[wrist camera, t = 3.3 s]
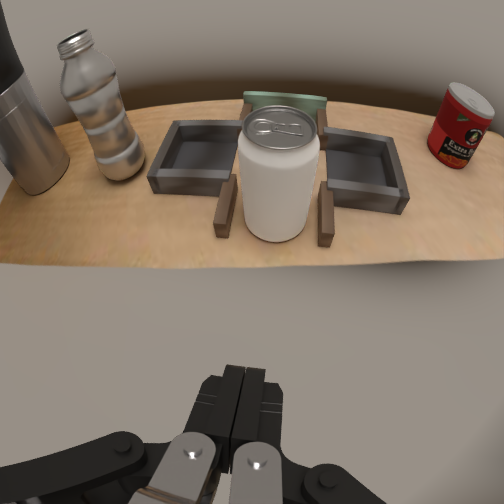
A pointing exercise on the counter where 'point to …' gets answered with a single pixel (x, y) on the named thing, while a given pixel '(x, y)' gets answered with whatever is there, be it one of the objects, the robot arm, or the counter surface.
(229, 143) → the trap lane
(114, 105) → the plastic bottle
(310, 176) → the can
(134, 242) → the counter surface
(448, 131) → the canned food
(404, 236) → the counter surface
